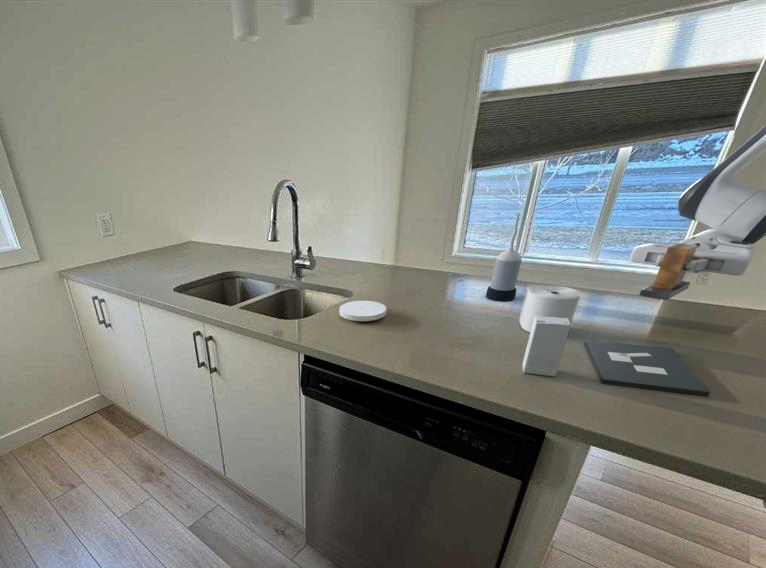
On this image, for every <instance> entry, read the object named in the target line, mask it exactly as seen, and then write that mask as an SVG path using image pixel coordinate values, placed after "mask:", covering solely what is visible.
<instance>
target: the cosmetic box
mask: <svg viewBox="0 0 766 568" xmlns="http://www.w3.org/2000/svg"><path fill="white" fill-rule="evenodd" d="M571 327H572V323H571V324H570V322H569V319H568V318H556V317H541V316H535V317H534V320H533V324H532V329H531V333H530V332H529V336H528V341H527V343H526V344H527V345H526V348H525V352H524V356H523V360H522V373H523V374H528V375H529V374H530V375H538V376H547V377H556V376H557V372H558V369H559V367H560V362H561V360H562V356H563V353H564V350H565V346H566V344H567V341H568V337H569V332H570V330H571Z"/></svg>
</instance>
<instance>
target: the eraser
mask: <svg viewBox="0 0 766 568" xmlns="http://www.w3.org/2000/svg"><path fill="white" fill-rule="evenodd" d="M679 243H680V242H678V243H675V244H672V245H673V246H670V247H668V249H667V252H666V254H665V257H664V259H663V262H662V264H661V266H660V267H659V269H658V271H657V274H656V276H655V279H654V281H653V283H651V284H650V285H647V286H645V287H643V288H641V290H640V292H639V294H638V296H639V297H645V298H649V299H650V298H651V299H656V300H663V301H668V300H669V299H672V298H673V297H676V295H679V294H680V293H682V292H684V291H685V290H688V289H689V287H690V284H691V281H684V278H685V276H686V274H687V273H686V271H687V270H683V268H684V267H685V266H684V265H685V263H686V262H688V261H691V260H692V258H693V255H694V253H695V251H696V249H697V247H698V245H690V244H679Z"/></svg>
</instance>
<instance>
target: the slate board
mask: <svg viewBox="0 0 766 568" xmlns="http://www.w3.org/2000/svg"><path fill="white" fill-rule="evenodd" d="M583 345H584V347H585V350H586V351H587V354H588V356H589V359H590V361H591V363H592V364H593V368H594V369H595V371H596V374H597V376H598V379H599V380H600V383H601V384H604V385H612V386H621V387H627V388H628V387H630V388H637V389H645V390H654V391H660V392H669V393H678V394H684V395H685V394H686V395H693V396H700V397H701V396H702V397H708V396H709V395H710V393H711V391H710V390H709V389H708V387H706V385H705V384H704V383H703V382H702V381H701V379H700V378H699V377H698V376H697V375H696V374H695V372H693V370H692V369H691V368H690V366H688V364H687V363H686V362H685V361H684V360H683V358H682V357H681V356H680V354H678V353H677V352H676V350H675V349H674V348H673V347H665V346H655V345H643V344H632V343H620V342H611V341H599V340H587V339H586V340H584V342H583Z"/></svg>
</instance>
